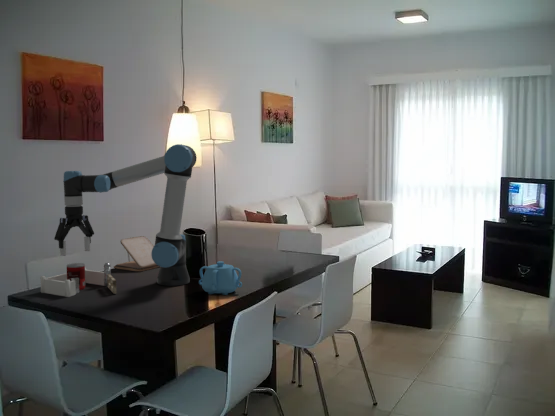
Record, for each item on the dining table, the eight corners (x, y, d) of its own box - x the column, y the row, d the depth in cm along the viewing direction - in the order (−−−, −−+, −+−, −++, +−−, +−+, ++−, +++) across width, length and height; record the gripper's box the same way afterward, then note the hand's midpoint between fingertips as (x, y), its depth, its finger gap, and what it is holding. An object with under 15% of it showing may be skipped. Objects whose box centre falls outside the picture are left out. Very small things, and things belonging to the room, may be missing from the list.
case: (140, 272, 284) (140, 241, 282) (110, 268, 294) (110, 238, 293) (167, 266, 301) (166, 237, 300) (138, 262, 312) (138, 234, 310)
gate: (107, 286, 250) (107, 274, 250) (110, 286, 251) (109, 274, 250) (113, 293, 237) (113, 280, 236) (116, 293, 238) (116, 280, 237)
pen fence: (110, 285, 254) (110, 270, 253) (67, 297, 232) (66, 280, 231) (84, 281, 262) (83, 267, 261) (39, 292, 240) (39, 276, 239)
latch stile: (79, 292, 240) (78, 277, 240) (75, 293, 238) (74, 278, 238) (76, 291, 241) (75, 277, 241) (71, 293, 239) (71, 278, 239)
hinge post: (112, 285, 254) (111, 262, 253) (107, 286, 251) (107, 263, 250) (107, 284, 255) (107, 261, 254) (102, 286, 253) (102, 263, 252)
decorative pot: (231, 286, 253) (231, 257, 252) (244, 294, 238) (244, 263, 237) (197, 290, 246) (196, 260, 245) (208, 298, 231) (208, 266, 230)
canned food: (81, 285, 253) (80, 262, 252) (88, 289, 247) (87, 264, 246) (64, 288, 248) (63, 264, 247) (70, 291, 242) (70, 266, 241)
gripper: (89, 203, 257) (91, 248, 259) (44, 207, 235) (46, 257, 237) (101, 204, 253) (102, 249, 255) (56, 208, 231) (58, 258, 233)
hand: (75, 253), depth 246 cm, fingers open, 13 cm apart
